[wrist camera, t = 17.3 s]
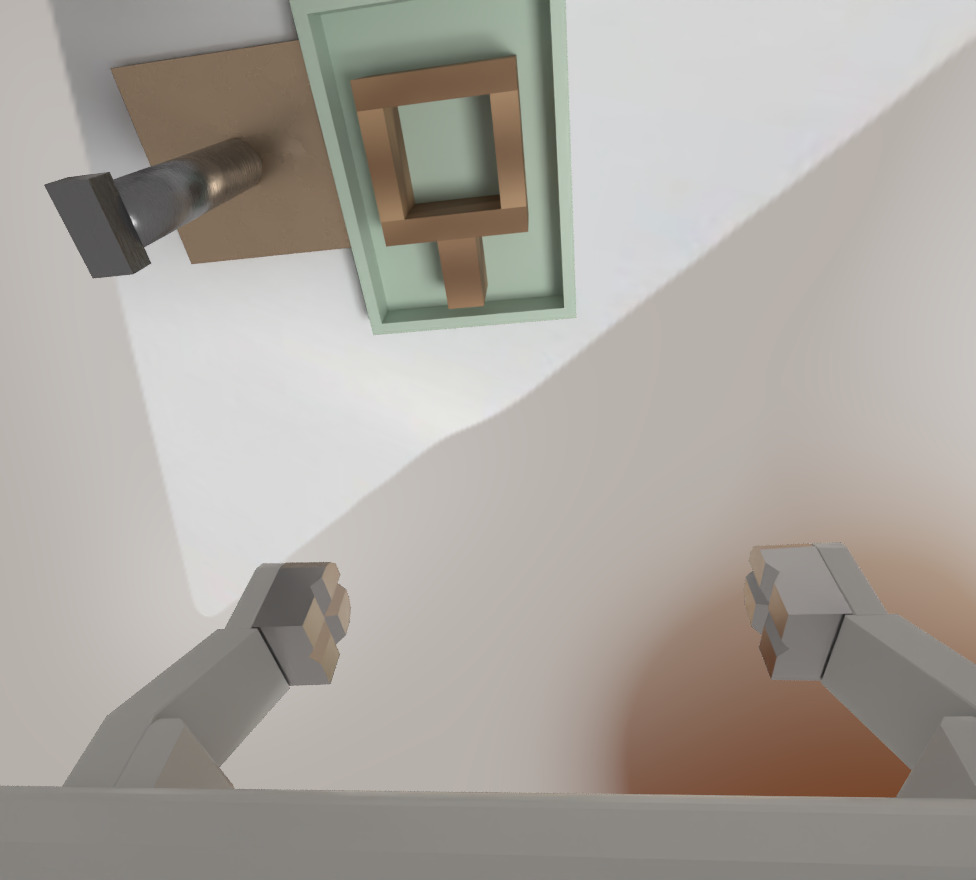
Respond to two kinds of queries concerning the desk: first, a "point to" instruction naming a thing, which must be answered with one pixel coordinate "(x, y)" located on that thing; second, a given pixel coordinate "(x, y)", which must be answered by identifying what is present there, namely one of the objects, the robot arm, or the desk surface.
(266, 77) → the post stand
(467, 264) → the walnut collar
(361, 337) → the desk surface
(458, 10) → the sage tray
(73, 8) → the desk surface
